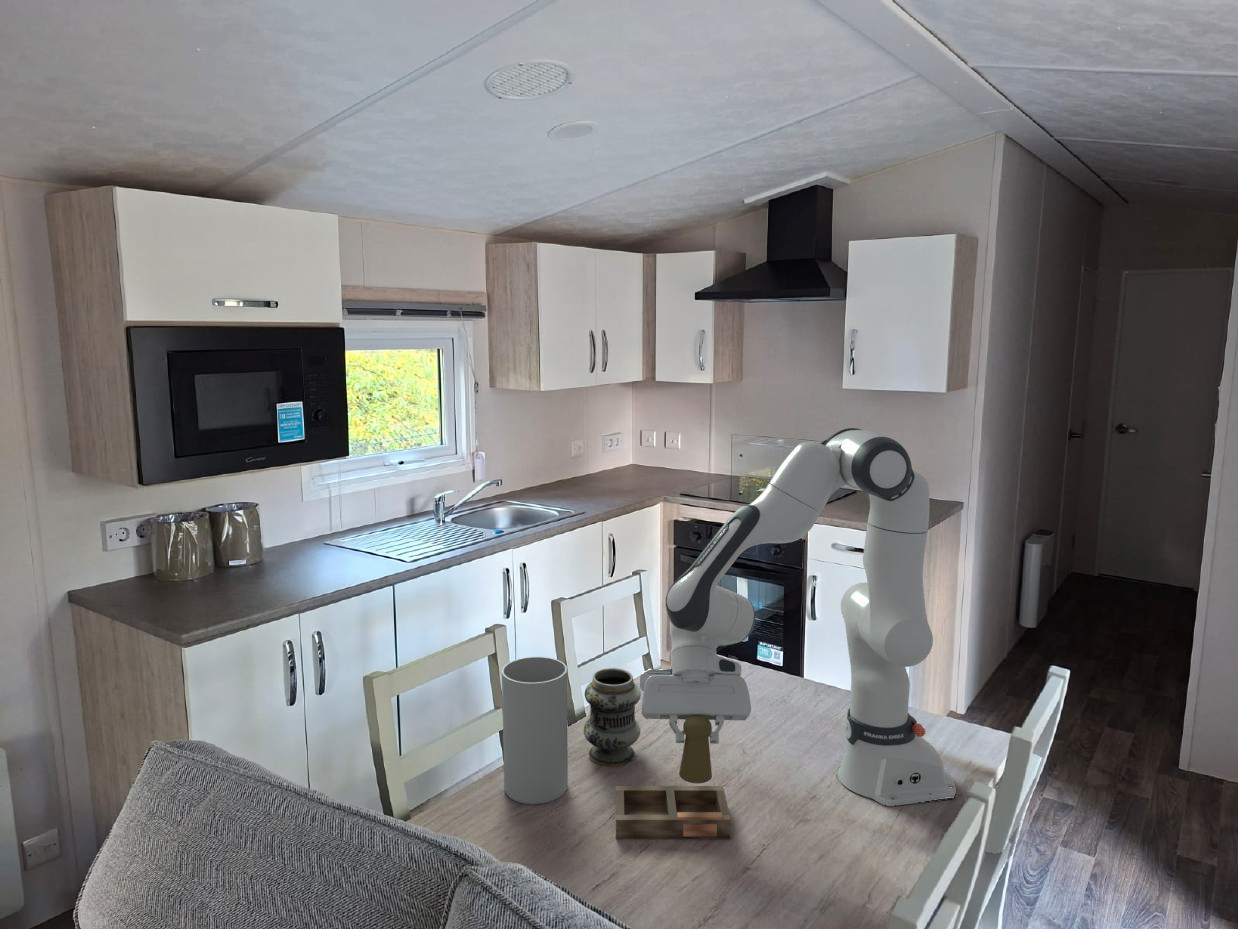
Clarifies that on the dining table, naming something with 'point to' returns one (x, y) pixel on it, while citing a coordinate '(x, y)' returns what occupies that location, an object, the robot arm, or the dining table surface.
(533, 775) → the cylinder vase
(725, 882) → the dining table surface
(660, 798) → the spice rack
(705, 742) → the olive round-topped post
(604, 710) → the apothecary jar
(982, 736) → the dining table surface
